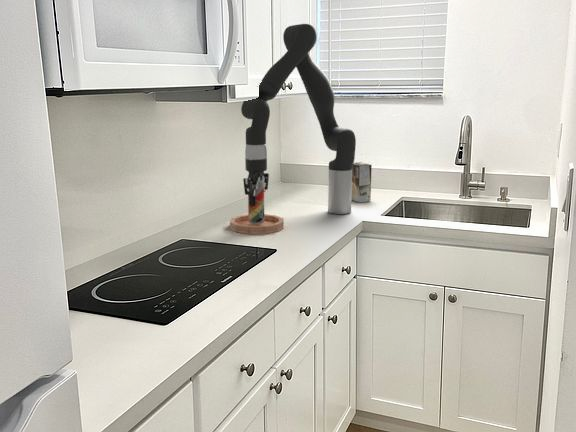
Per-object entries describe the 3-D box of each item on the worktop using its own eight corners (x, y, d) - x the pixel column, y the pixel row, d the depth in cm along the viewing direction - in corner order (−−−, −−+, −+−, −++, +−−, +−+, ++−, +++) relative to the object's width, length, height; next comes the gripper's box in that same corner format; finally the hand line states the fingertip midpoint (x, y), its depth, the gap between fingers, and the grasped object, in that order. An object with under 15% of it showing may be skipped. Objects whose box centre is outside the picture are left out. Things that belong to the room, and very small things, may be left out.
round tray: (248, 218, 219) (248, 212, 218) (292, 224, 210) (292, 217, 210) (219, 230, 202) (219, 222, 202) (266, 236, 194) (266, 229, 193)
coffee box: (371, 201, 249) (372, 164, 245) (358, 202, 246) (359, 165, 243) (360, 197, 257) (361, 161, 253) (347, 198, 254) (348, 162, 251)
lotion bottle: (257, 224, 202) (256, 168, 198) (245, 222, 205) (244, 166, 201) (267, 221, 206) (267, 166, 202) (255, 219, 210) (254, 165, 206)
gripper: (257, 154, 208) (258, 199, 212) (235, 159, 196) (237, 207, 200) (275, 155, 205) (275, 201, 209) (254, 160, 193) (255, 209, 197)
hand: (256, 204), depth 204 cm, fingers closed on lotion bottle, 5 cm apart
